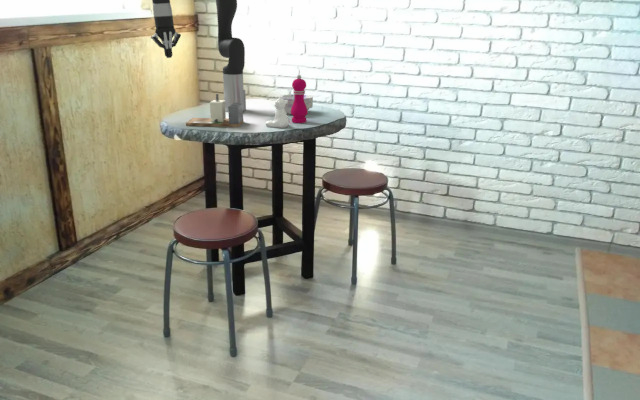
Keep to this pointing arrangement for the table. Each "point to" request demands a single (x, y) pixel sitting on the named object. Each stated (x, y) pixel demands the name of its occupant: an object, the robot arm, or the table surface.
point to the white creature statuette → (279, 115)
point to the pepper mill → (299, 101)
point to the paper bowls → (290, 98)
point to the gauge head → (217, 110)
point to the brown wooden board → (210, 123)
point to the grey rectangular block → (235, 113)
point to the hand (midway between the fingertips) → (169, 57)
